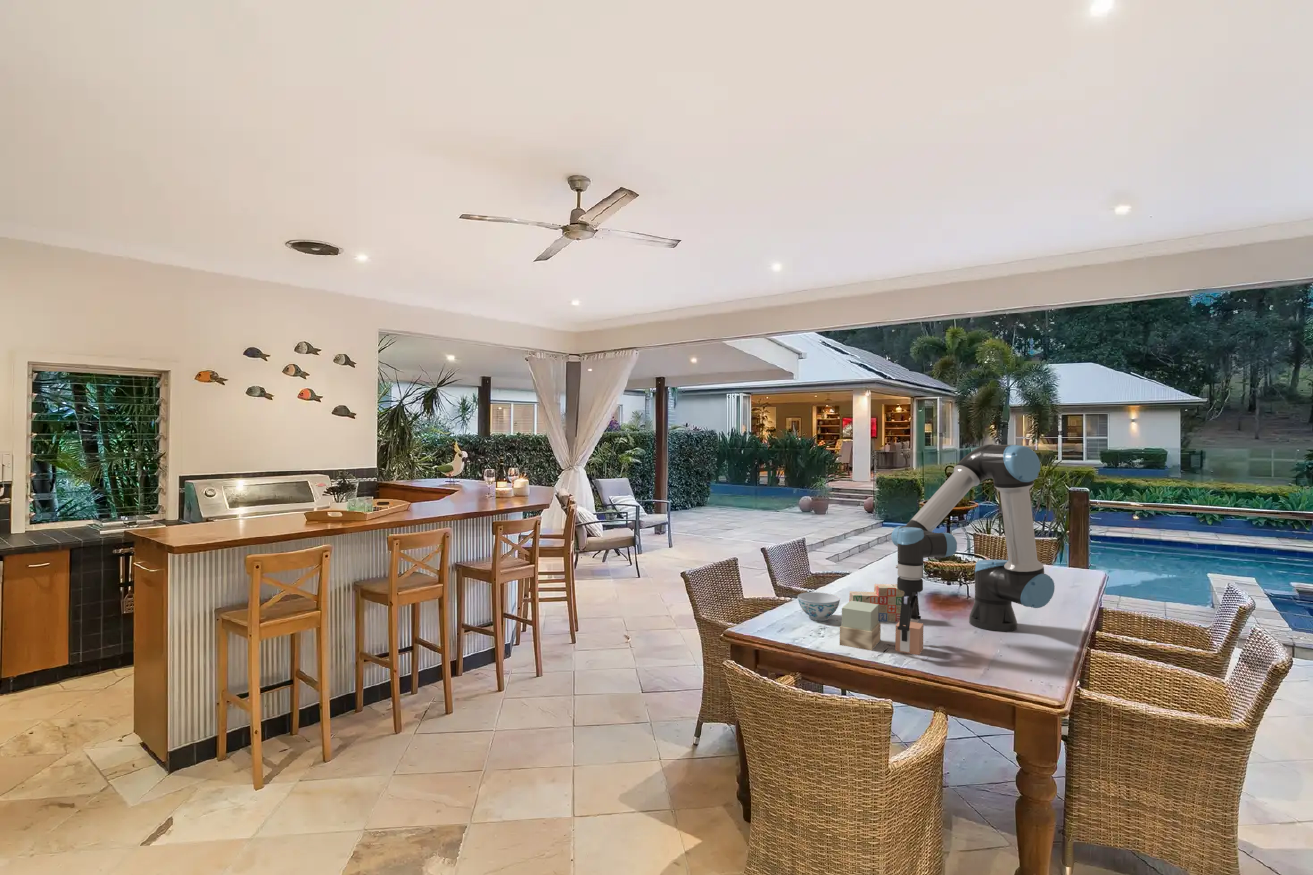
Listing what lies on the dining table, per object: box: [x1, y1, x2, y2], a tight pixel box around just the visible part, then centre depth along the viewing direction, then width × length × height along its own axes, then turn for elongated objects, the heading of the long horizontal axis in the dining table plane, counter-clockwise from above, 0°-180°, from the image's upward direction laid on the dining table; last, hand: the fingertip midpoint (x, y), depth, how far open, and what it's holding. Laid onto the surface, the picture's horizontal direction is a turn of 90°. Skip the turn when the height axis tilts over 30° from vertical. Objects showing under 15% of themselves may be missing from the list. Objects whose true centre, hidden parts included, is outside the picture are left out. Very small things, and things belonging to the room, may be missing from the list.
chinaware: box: [797, 591, 841, 622], centre depth 240 cm, size 15×15×8 cm
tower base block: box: [839, 621, 882, 651], centre depth 213 cm, size 10×12×6 cm
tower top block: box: [841, 601, 879, 631], centre depth 213 cm, size 9×11×6 cm
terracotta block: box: [894, 621, 924, 656], centre depth 206 cm, size 7×7×8 cm
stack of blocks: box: [848, 583, 904, 623], centre depth 240 cm, size 21×6×12 cm, turn 85°
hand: (909, 645), depth 206 cm, fingers open, 13 cm apart
